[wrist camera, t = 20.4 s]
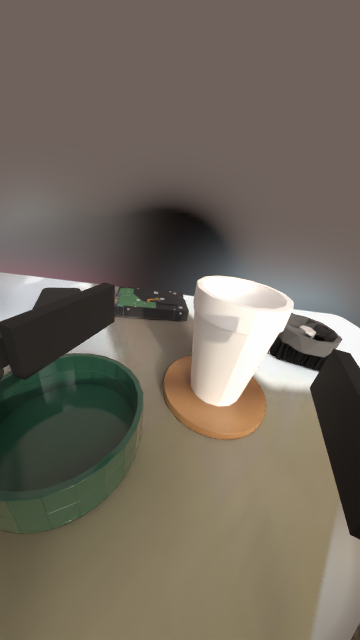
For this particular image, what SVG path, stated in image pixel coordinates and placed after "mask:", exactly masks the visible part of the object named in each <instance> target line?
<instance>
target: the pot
mask: <svg viewBox="0 0 360 640" xmlns="http://www.w3.org/2000/svg"><path fill="white" fill-rule="evenodd" d="M142 415H143V392H142V389H141V386H140V384H139V381H138V379H137V378H136V377H135V375H134V374H133V373H132V372H131V370H130V369H128V368H127V367H125V366H124V365H123V364H121V363H120V362H118V361H116V360H113V359H110V358H108V357H105V356H100V355H94V354H80V353H72V354H64V355H63V356H61V357H60V358H58V359H57V360H55V361H54V362H52V363H51V364H49V365H48V366H46V367H45V368H43V369H42V370H40V371H39V372H37V373H36V374H34V375H32V376H31V377H29V378H28V379H26V380H23V379H21V378H19V377H17V376H15V375H13V374H12V371H11V372H9V373H7V374H6V375H4V376H3V378H2V380H1V382H0V529H1V530H4V531H8V532H14V533H35V532H41V531H46V530H50V529H54V528H57V527H59V526H62V525H65V524H67V523H69V522H71V521H73V520H75V519H77V518H79V517H81V516H83V515H84V514H86V513H87V512H89V511H90V510H92V509H93V508H95V507H96V506H97V505H98V504H100V503H101V502H102V501H103V500H104V499H106V497H107V496H108V495H109V494H110V493H111V492H112V491H113V490H114V489H115V488H116V487H117V486H118V484H119V483H120V482H121V481H122V479H123V478H124V476H125V475H126V473H127V472H128V470H129V468H130V466H131V464H132V462H133V460H134V458H135V455H136V452H137V449H138V445H139V441H140V435H141V425H142Z"/></svg>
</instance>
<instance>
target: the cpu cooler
mask: <svg viewBox="0 0 360 640" xmlns="http://www.w3.org/2000/svg"><path fill="white" fill-rule="evenodd" d="M341 341H342V339H341V338H340V337H339V336H338V334H337V333H336V332H335V331H334V330H332V329H331V328H329V327H327V326H326V325H324V324H323V323H321V322H318V321H315V320H313V319H310V318H307V317H304V316H300V315H295V314H293V313H291V315H290V317H289V319H288V322H287V324H286V326H285V328H284V331H282V332H280V333H279V334H278V336H277V338H276V339H275V341H274V342H273V344H272V346H271V347H270V353H271V354H273V355H276V359H281V360H285V361H287V362H290V363H293V364H294V363H295V364H296V365H297V364H298V365H300V366H302V365H303V366H304V367H308V368H310V369H311V368H312V369H314V370H318V371H320V370H321V368H322V367H323V365H324V363H325V362H326V360H327V358H328V357H329V355H330V353H331V352H332V350H333V349H336V348H337V347H338V345H339V344H340V342H341Z"/></svg>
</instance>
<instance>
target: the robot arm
mask: <svg viewBox="0 0 360 640" xmlns="http://www.w3.org/2000/svg"><path fill="white" fill-rule="evenodd" d="M114 293H115V286H114V285H111V284H108V283H102V284H100V285H97V286H94V287H92V288H89V289H86V290H84V291H81V292H78V293H76V294H73V295H70V296H68V297H65V298H62V299H60V300H57V301H54V302H52V303H49V304H46V305H44V306H41V307H38V308H36V309H33V310H30V311H28V312H25V313H22V314H20V315H17V316H14V317H12V318H9V319H6V320H4V321H1V322H0V382H1V380H2V378H3V375H4V370H3V368H4V367H6V366H7V365H9V364H10V367H11V370H12V374H13V375H15V376H17V377H19V378H21V379H23V380H26V379H28V378H29V377H31V376H32V375H34V374H36V373H37V372H39V371H40V370H42V369H43V368H45V367H46V366H48V365H49V364H51V363H52V362H54V361H55V360H57V359H58V358H60V357H61V356H63V355H64V354H66V353H67V352H69V351H70V350H72V349H74V348H75V347H77V346H78V345H80V344H81V343H83V342H84V341H86V340H87V339H89V338H90V337H92V336H93V335H95V334H96V333H98V332H99V331H101V330H102V329H104V328H105V327H107V326H108V325H110V324H112V323H113V322H114ZM310 390H311V394H312V397H313V401H314V405H315V408H316V412H317V416H318V419H319V423H320V427H321V430H322V434H323V438H324V441H325V445H326V449H327V452H328V456H329V460H330V463H331V467H332V470H333V474H334V478H335V481H336V485H337V489H338V492H339V496H340V500H341V503H342V507H343V511H344V514H345V518H346V522H347V525H348V529H349V533H350V535H352V536H354V537H356V538H358V539H360V368H359V366H358V365H357V363H356V362H355V360H354V359H353V357H352V356H351V354H350V353H347V352H343V351H340V350H336V349H333V350H332V352H331V353H330V355H329V357H328V358H327V360H326V362H325V363H324V365H323V367H322V368H321V370H320V372H319V373H318V375H317V377H316V378H315V380H314V382H313V383H312V385H311V387H310ZM351 640H360V624H359V626H358V628H357V629H356V631H355V633H354V635H353V637H352V639H351Z"/></svg>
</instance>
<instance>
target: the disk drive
mask: <svg viewBox="0 0 360 640" xmlns="http://www.w3.org/2000/svg"><path fill="white" fill-rule="evenodd" d="M188 312H189V310H188V308H187V305H186V302H185V300H184V299H183V294H182V293H181V292H172V291H171V292H170V291H161V290H151V289H141V288H131V287H128V288H127V287H119V289H118V292H117V294H116V298H115V301H114V316H115V315H116V316H119V317H133V318H148V319H161V320H176V321H177V320H178V321H183V320H185V321H187V317H188Z"/></svg>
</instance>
